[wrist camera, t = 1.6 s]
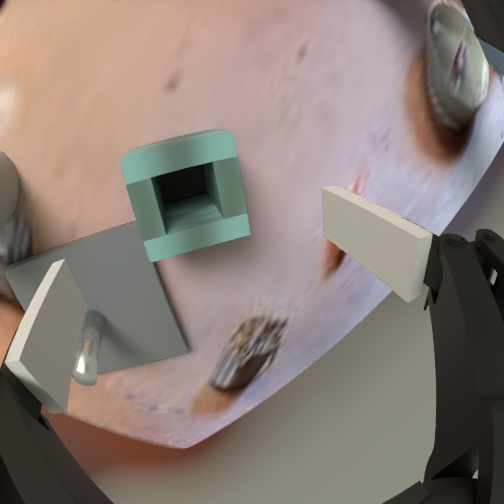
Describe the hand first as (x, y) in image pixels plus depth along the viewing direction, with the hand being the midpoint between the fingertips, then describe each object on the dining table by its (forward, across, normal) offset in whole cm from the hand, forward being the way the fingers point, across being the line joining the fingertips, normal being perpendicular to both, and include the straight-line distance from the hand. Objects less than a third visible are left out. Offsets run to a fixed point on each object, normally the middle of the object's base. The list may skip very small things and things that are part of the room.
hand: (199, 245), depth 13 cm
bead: (+16, 0, 0) cm, 16 cm away
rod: (+14, -14, -12) cm, 23 cm away
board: (+16, -14, -12) cm, 24 cm away
